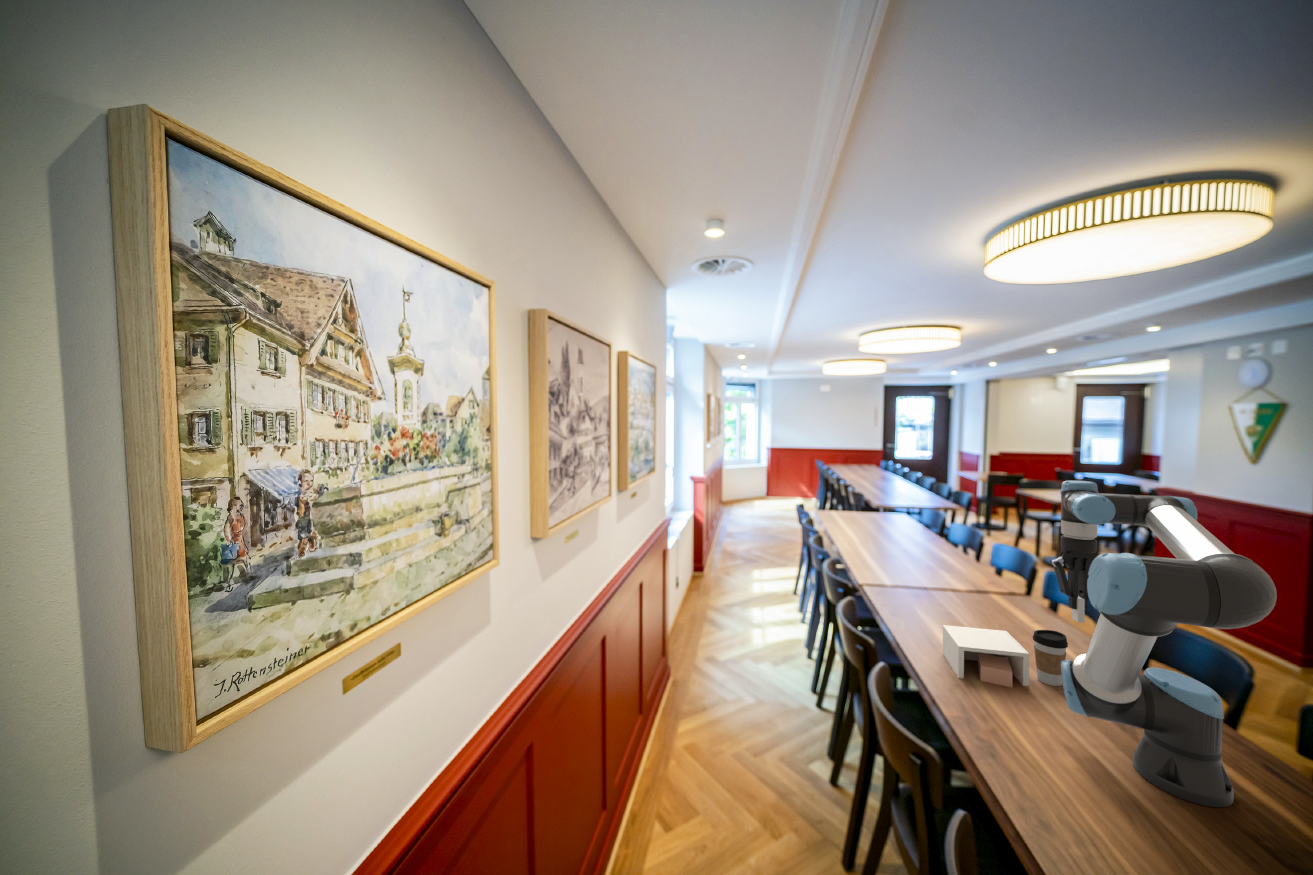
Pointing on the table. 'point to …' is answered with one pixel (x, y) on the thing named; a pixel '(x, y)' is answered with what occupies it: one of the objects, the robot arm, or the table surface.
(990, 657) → the pink clay brick
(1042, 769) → the table surface
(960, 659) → the shelf
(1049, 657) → the coffee cup
